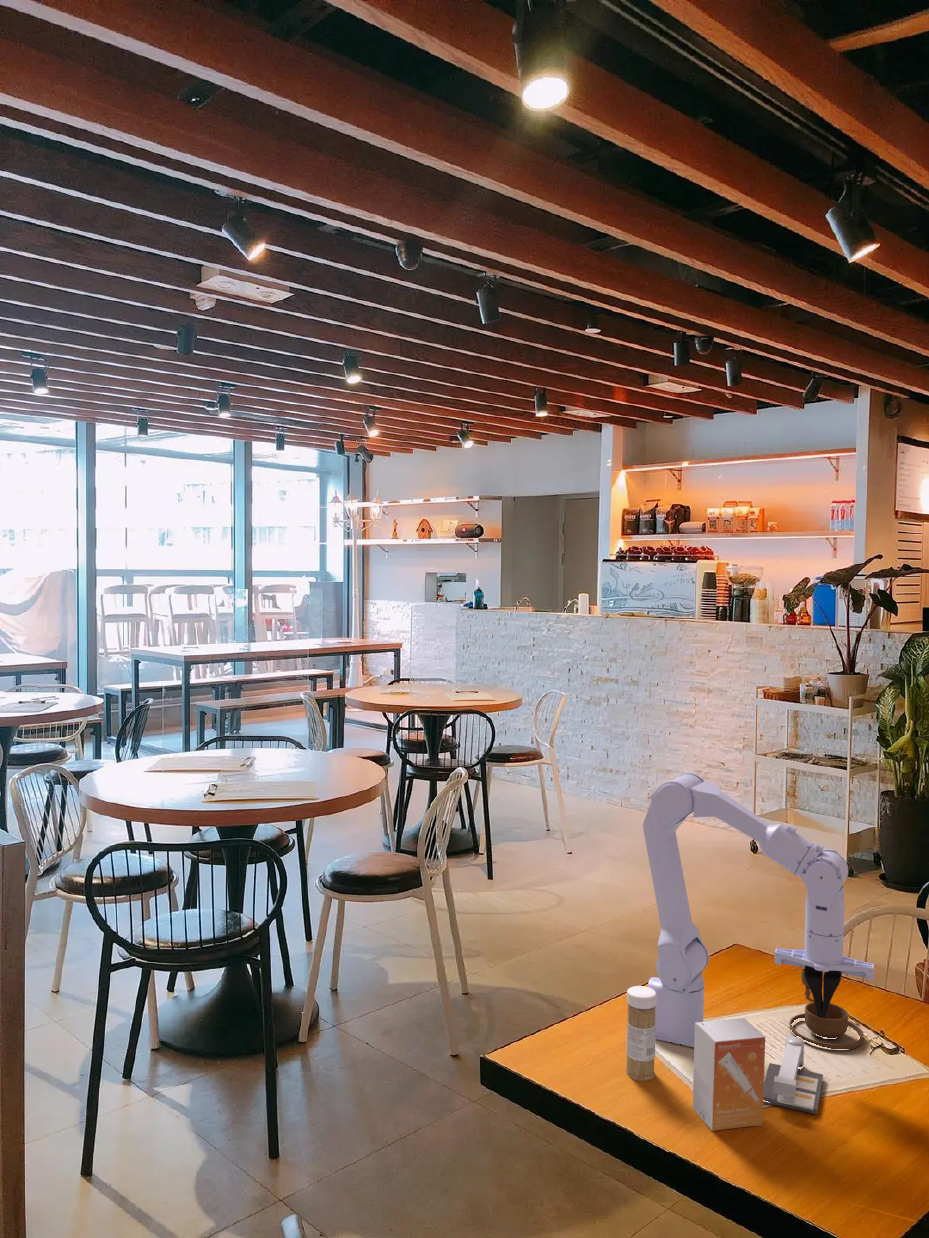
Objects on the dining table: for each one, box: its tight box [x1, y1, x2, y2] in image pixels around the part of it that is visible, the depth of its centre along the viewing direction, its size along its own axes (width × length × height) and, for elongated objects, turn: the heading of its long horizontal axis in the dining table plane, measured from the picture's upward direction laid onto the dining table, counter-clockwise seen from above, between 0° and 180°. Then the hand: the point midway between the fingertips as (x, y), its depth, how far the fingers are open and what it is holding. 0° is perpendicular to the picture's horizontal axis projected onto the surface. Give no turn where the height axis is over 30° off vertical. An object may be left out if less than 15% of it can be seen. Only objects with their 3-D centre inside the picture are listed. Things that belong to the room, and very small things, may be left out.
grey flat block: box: [763, 1053, 824, 1116], centre depth 147 cm, size 8×15×2 cm, turn 155°
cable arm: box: [773, 1035, 805, 1098], centre depth 147 cm, size 16×3×2 cm, turn 155°
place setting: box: [788, 967, 880, 1050], centre depth 167 cm, size 18×20×6 cm
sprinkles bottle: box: [625, 985, 657, 1082], centre depth 149 cm, size 5×5×13 cm
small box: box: [692, 1017, 766, 1132], centre depth 138 cm, size 8×6×13 cm
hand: (822, 1015), depth 150 cm, fingers closed
